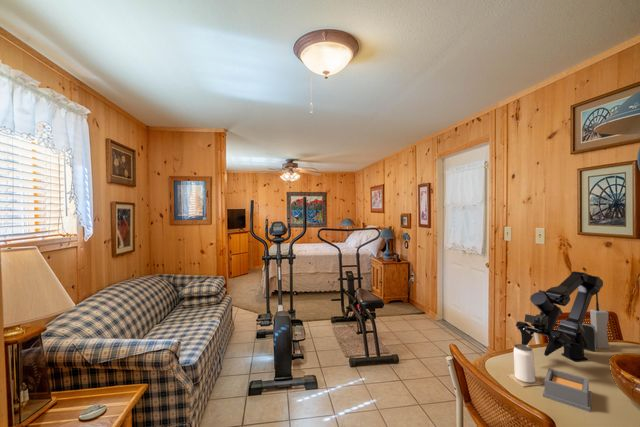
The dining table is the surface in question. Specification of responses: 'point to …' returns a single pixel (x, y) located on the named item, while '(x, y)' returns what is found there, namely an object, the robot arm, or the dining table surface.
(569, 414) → the dining table surface
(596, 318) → the vintage mobile phone
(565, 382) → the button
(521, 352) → the can
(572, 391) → the grey open box
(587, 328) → the battery
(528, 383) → the tan wavy cloth
